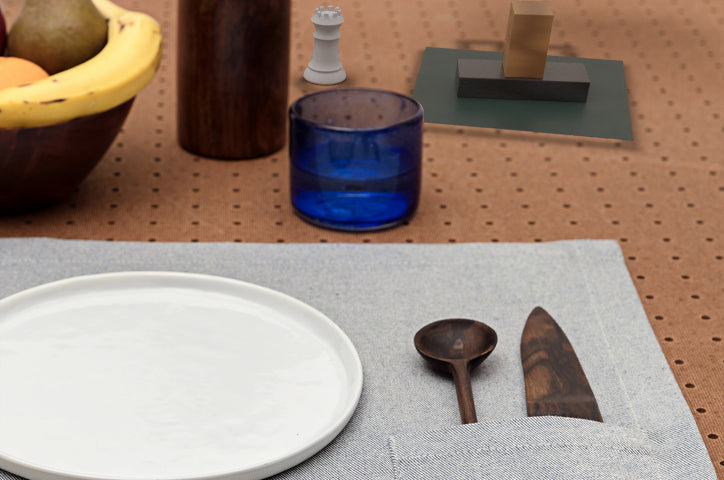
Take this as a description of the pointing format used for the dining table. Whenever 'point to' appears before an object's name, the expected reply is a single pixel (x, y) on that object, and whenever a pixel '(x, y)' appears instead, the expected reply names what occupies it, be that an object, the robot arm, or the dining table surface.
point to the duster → (524, 63)
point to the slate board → (589, 119)
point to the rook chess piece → (326, 48)
